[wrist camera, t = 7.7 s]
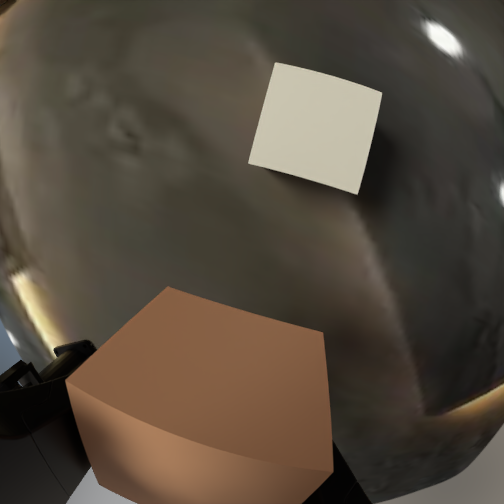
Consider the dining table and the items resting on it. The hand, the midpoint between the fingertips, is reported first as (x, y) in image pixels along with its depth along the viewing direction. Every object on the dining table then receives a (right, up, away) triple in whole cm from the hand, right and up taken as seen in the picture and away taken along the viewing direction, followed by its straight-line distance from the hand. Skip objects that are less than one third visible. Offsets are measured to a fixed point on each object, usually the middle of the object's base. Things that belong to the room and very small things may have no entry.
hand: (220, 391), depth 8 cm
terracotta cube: (0, 0, +1) cm, 1 cm away
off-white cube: (+5, +11, +8) cm, 14 cm away
